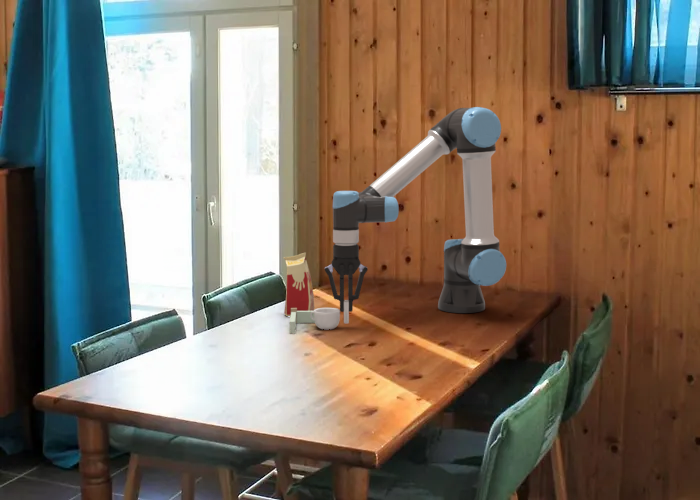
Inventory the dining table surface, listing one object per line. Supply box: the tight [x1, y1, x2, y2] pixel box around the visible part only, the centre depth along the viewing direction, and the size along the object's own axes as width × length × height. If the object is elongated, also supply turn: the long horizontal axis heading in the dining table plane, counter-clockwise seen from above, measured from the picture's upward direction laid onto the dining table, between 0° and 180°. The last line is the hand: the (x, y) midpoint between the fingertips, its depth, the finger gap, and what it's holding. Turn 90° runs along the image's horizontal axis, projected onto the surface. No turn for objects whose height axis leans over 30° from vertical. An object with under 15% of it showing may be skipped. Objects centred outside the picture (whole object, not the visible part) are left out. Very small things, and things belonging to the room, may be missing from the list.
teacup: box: [310, 307, 341, 331], centre depth 266 cm, size 10×8×5 cm
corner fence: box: [289, 308, 315, 334], centre depth 266 cm, size 14×15×4 cm
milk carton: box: [282, 252, 315, 317], centre depth 283 cm, size 9×9×20 cm
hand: (346, 322), depth 266 cm, fingers closed
